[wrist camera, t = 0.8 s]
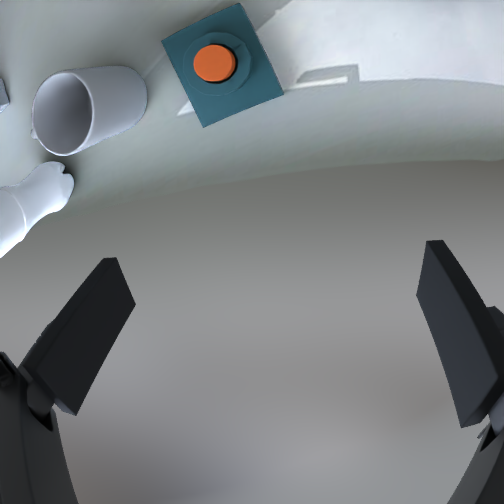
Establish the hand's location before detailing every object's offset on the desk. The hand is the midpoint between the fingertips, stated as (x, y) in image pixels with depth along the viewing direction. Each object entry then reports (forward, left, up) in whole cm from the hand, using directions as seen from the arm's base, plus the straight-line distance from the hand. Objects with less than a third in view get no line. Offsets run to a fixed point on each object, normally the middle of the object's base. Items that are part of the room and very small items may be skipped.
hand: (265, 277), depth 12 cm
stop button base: (-11, -2, -24) cm, 27 cm away
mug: (-14, -17, -24) cm, 33 cm away
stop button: (-11, -2, -20) cm, 23 cm away
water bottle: (-9, -30, -24) cm, 40 cm away
